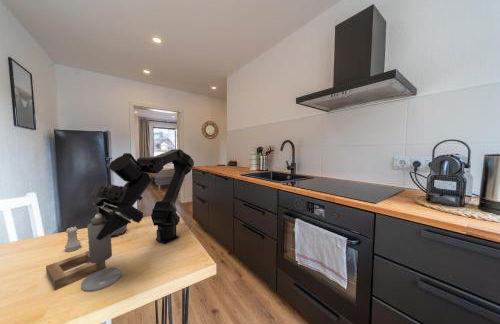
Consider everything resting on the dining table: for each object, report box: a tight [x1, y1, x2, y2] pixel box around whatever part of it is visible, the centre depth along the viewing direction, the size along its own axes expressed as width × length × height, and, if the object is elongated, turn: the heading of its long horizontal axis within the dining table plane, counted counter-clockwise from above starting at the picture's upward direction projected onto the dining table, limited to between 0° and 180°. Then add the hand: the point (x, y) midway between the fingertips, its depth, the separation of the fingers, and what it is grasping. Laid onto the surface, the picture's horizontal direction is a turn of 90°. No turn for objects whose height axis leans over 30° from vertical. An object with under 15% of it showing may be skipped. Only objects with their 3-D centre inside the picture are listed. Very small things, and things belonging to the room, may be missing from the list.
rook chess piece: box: [64, 226, 82, 253], centre depth 69 cm, size 4×4×8 cm
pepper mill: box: [86, 213, 113, 263], centre depth 52 cm, size 5×5×13 cm
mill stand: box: [45, 250, 107, 291], centre depth 56 cm, size 11×11×2 cm
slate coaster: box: [80, 266, 123, 293], centre depth 52 cm, size 9×9×1 cm
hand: (93, 237), depth 50 cm, fingers closed on pepper mill, 5 cm apart
